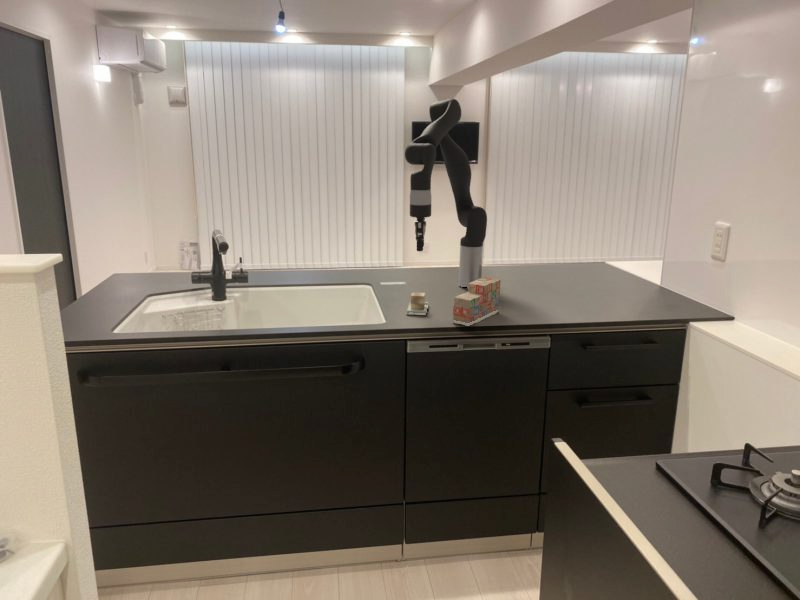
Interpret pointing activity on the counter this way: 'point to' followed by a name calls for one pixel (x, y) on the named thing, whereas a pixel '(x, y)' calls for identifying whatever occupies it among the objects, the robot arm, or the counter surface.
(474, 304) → the stack of blocks
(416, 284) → the counter surface
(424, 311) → the ceramic dish
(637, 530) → the counter surface
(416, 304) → the maple block
